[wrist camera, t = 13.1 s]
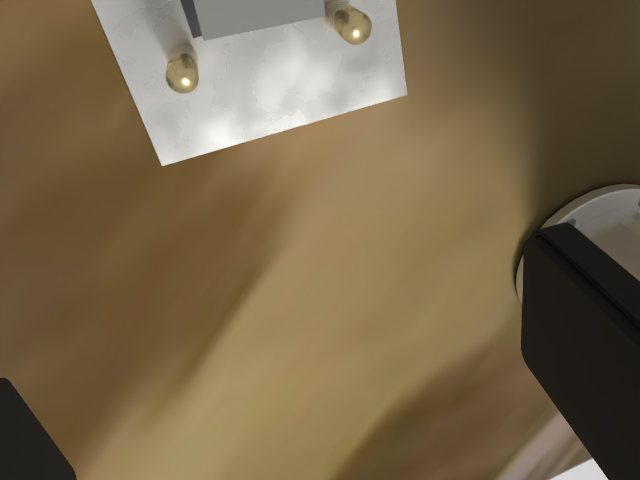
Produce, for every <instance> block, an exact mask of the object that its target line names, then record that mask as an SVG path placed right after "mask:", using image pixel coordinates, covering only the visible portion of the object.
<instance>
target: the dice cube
mask: <svg viewBox="0 0 640 480" xmlns="http://www.w3.org/2000/svg"><path fill="white" fill-rule="evenodd" d="M193 2H194V5H195V9H196V13H197V17H198V21H199V25H200V29H201V32H202V36H203V40H204V41H205V40H210V39H215V38H220V37H225V36H230V35H235V34H240V33H245V32H250V31H255V30H260V29H265V28H270V27H275V26H280V25H285V24H290V23H295V22H300V21H305V20H310V19H315V18H319V17H324V16H325V8H324V1H323V0H193Z"/></svg>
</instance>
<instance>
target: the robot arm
mask: <svg viewBox="0 0 640 480" xmlns="http://www.w3.org/2000/svg"><path fill="white" fill-rule="evenodd" d="M516 289H517V294H518V298H519V300H520V302H521V304H522V329H521V351H522V355H523V358H524V360H525V362H526V364H527V366H528V368H529V369H530V370H531V372H532V373H533V375H534V376H535V377H536V379H537V380H538V382H539V383H540V384H541V386H542V387H543V389H544V390H545V391H546V393H547V394H548V396H549V397H550V398H551V400H552V401H553V403H554V404H555V405H556V407H557V408H558V410H559V411H560V412H561V414H562V415H563V417H564V418H565V419H566V421H567V422H568V424H569V425H570V426H571V428H572V429H573V431H574V432H575V433H576V435H577V436H578V438H579V439H580V440H581V442H582V443H583V445H584V446H585V447H586V449H587V450H588V452H589V453H590V454H591V456H592V457H593V459H594V460H595V461H596V463H597V464H598V466H599V467H600V468H601V470H602V471H603V473H604V474H605V475H606V477H607V478H608V480H640V185H633V184H619V185H611V186H606V187H603V188H600V189H597V190H593V191H591V192H589V193H587V194H585V195H583V196H581V197H578V198H576V199H575V200H573V201H572V202H570V203H569V204H567V205H566V206H564V207H563V208H561V209H560V210H559V211H558V212H557V213H555V214H554V215H553V216H552V217H551V218H550V219H548V220H547V221H546V223H545V224H544V225H543V226H542V227H541V228H540V229H537V230H535V231H534V232H533V234H532V236H531V239H530V240H527V241H525V243H524V252H523V256H522V258H521V261H520V264H519V268H518V272H517V279H516ZM0 480H76V475H75V471H74V470H73V468H72V466H71V465H70V464H69V462H68V461H67V459H66V458H65V457H64V455H63V454H62V453H61V451H60V450H59V448H58V447H57V446H56V444H55V443H54V442H53V440H52V439H51V437H50V436H49V435H48V433H47V432H46V431H45V429H44V428H43V426H42V425H41V424H40V422H39V421H38V419H37V418H36V417H35V415H34V414H33V413H32V411H31V410H30V408H29V407H28V406H27V404H26V403H25V402H24V400H23V399H22V397H21V396H20V395H19V393H18V392H17V390H16V389H15V388H14V386H13V385H12V384H11V382H10V381H9V380H8V379H6V378H0Z"/></svg>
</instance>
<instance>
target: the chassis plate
mask: <svg viewBox="0 0 640 480" xmlns="http://www.w3.org/2000/svg"><path fill="white" fill-rule="evenodd" d="M91 1H92V3H93V6H94V8H95V10H96V13H97V15H98V17H99V20H100V22H101V24H102V27H103V29H104V31H105V34H106V36H107V38H108V41H109V43H110V45H111V48H112V50H113V52H114V55H115V57H116V59H117V62H118V64H119V66H120V69H121V71H122V73H123V76H124V78H125V80H126V83H127V85H128V87H129V90H130V92H131V94H132V97H133V99H134V101H135V104H136V106H137V108H138V111H139V113H140V115H141V118H142V120H143V122H144V125H145V127H146V129H147V132H148V134H149V136H150V139H151V141H152V143H153V146H154V148H155V150H156V153H157V155H158V157H159V160H160V162H161V164H162V166H164V165H167V164H171V163H174V162H178V161H181V160H184V159H188V158H191V157H195V156H198V155H202V154H205V153H209V152H212V151H215V150H219V149H222V148H226V147H229V146H233V145H236V144H239V143H243V142H246V141H250V140H253V139H257V138H260V137H264V136H267V135H270V134H274V133H277V132H281V131H284V130H288V129H291V128H294V127H298V126H301V125H305V124H308V123H312V122H315V121H318V120H322V119H325V118H329V117H332V116H336V115H339V114H343V113H346V112H349V111H353V110H356V109H360V108H363V107H367V106H370V105H373V104H377V103H380V102H384V101H387V100H391V99H394V98H398V97H401V96H404V95H407V88H406V80H405V72H404V64H403V56H402V48H401V41H400V33H399V25H398V17H397V9H396V1H395V0H323V1H324V8H325V16H324V17H319V18H315V19H310V20H305V21H300V22H295V23H290V24H285V25H280V26H275V27H270V28H265V29H260V30H255V31H250V32H245V33H240V34H235V35H230V36H225V37H220V38H215V39H210V40H205V41H204V40H203V36H202V32H201V29H200V25H199V21H198V17H197V13H196V9H195V5H194V2H193V0H91Z"/></svg>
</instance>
